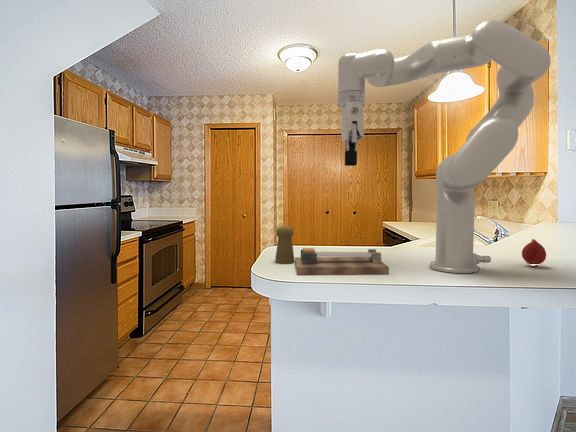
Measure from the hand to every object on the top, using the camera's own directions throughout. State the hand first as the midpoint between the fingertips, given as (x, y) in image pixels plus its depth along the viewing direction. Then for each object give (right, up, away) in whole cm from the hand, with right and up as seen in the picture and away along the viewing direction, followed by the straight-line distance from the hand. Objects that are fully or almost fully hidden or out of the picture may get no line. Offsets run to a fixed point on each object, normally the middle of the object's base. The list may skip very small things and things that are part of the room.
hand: (350, 165), depth 106 cm
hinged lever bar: (-4, -26, -3) cm, 26 cm away
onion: (+52, -29, -1) cm, 60 cm away
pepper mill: (-19, -29, +7) cm, 35 cm away
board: (-4, -29, -3) cm, 30 cm away
